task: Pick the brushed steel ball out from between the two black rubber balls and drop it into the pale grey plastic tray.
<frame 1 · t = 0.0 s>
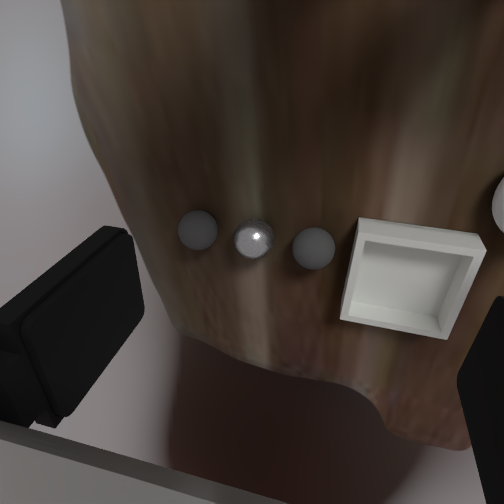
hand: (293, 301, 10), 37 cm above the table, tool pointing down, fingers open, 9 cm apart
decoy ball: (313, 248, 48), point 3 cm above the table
tray: (402, 270, 50), on the table
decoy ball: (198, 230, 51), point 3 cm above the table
steel ball: (253, 239, 50), point 3 cm above the table
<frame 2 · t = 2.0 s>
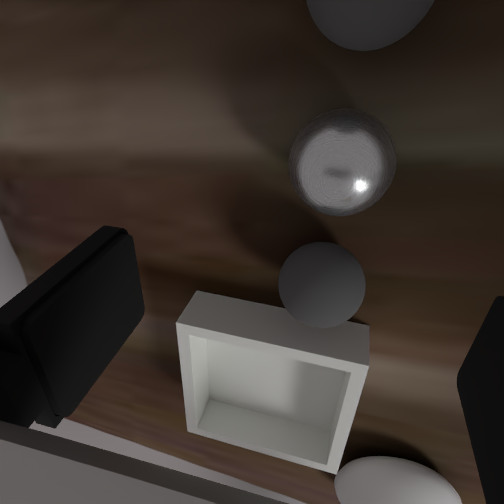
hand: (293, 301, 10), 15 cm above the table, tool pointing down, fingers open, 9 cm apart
flower in vase: (402, 478, 37), on the table
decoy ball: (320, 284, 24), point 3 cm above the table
tray: (273, 366, 33), on the table
steel ball: (340, 163, 20), point 3 cm above the table
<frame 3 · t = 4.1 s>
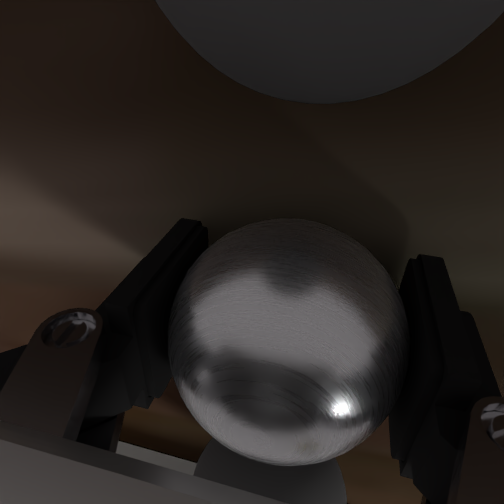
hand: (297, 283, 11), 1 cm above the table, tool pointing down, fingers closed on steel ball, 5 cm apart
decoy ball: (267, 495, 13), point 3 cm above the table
steel ball: (285, 333, 9), point 3 cm above the table, touching gripper
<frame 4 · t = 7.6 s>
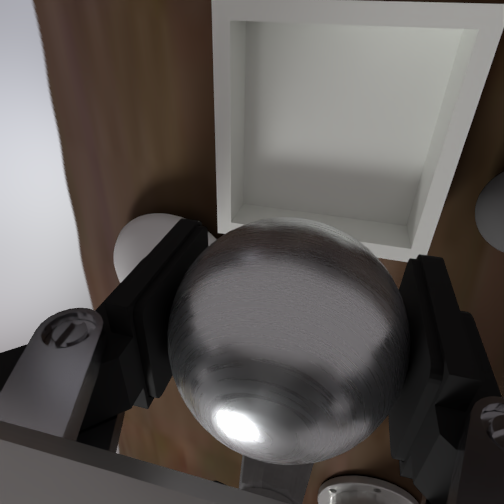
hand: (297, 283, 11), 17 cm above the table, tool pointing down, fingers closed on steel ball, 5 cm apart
flower in vase: (182, 267, 35), on the table
tray: (334, 128, 25), on the table
coffeepot: (272, 439, 46), on the table
steel ball: (285, 332, 9), point 19 cm above the table, touching gripper
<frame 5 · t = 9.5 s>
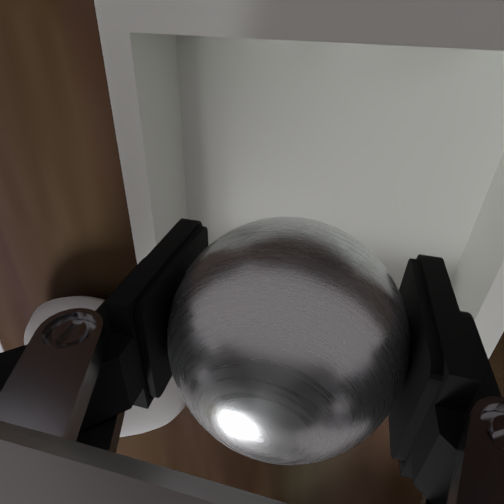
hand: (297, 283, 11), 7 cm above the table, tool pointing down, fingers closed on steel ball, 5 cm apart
flower in vase: (124, 354, 26), on the table
tray: (321, 195, 16), on the table
steel ball: (285, 332, 9), point 9 cm above the table, touching gripper
when the fingers open (4 cm above the table, at t = 11.0 s): steel ball drops 2 cm, resting on tray.
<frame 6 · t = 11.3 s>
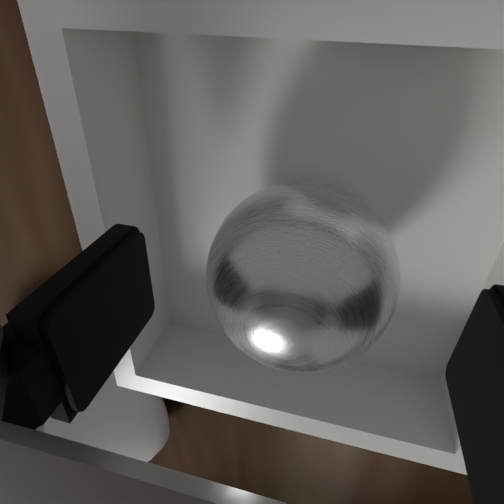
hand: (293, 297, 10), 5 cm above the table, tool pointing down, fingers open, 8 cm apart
flower in vase: (100, 383, 24), on the table
tray: (313, 220, 14), on the table
steel ball: (299, 275, 11), point 4 cm above the table, touching tray
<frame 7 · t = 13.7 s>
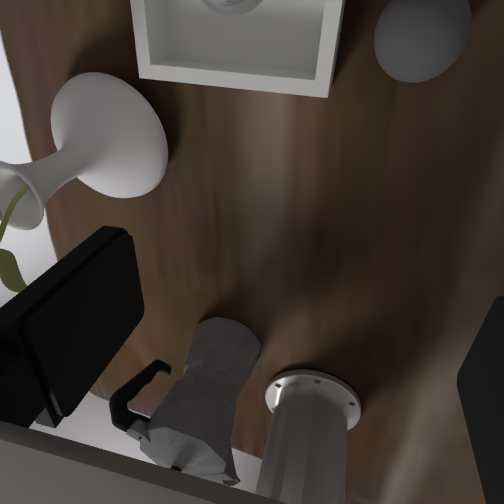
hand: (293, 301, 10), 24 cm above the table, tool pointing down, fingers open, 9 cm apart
flower in vase: (122, 142, 36), on the table
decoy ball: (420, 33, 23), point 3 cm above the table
coffeepot: (221, 336, 48), on the table
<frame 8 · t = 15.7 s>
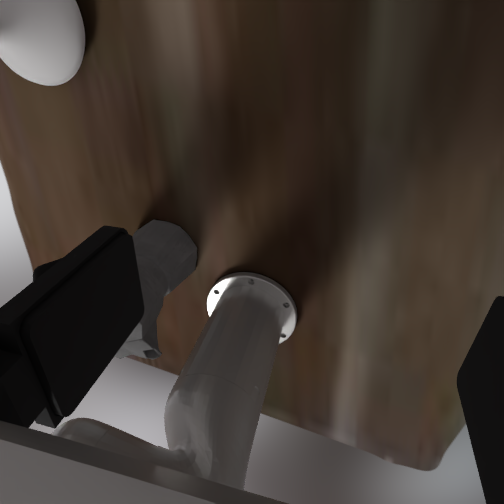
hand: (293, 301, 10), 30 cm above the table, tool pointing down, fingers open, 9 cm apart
flower in vase: (47, 32, 39), on the table
coffeepot: (160, 243, 50), on the table
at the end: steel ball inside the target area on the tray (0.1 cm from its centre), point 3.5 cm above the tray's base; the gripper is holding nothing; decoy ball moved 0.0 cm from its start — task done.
